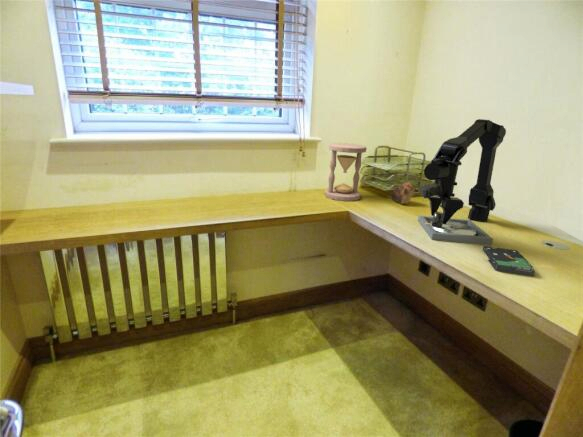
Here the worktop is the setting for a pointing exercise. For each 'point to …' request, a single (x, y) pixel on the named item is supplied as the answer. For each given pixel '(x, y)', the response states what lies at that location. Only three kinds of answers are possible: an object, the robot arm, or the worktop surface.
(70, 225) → the worktop surface
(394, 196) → the decorative rock
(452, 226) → the dial
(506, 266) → the disk drive
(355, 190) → the hourglass
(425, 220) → the dial housing
